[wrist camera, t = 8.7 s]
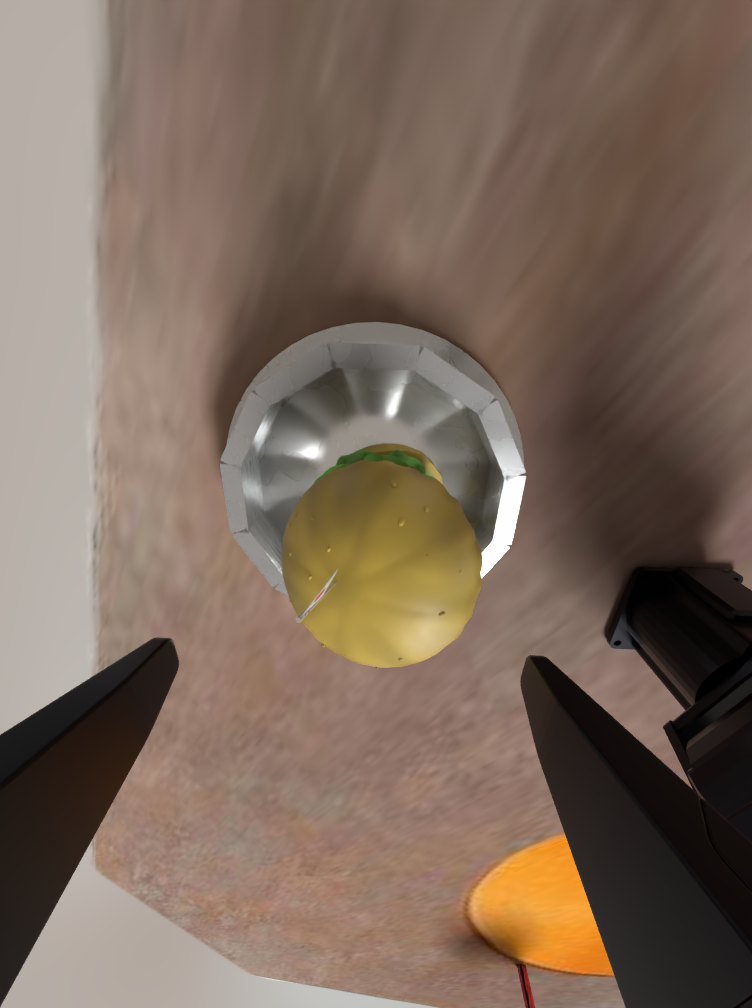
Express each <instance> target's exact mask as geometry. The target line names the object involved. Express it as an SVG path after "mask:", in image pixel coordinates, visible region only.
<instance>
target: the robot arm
mask: <svg viewBox="0 0 752 1008" xmlns="http://www.w3.org/2000/svg"><path fill="white" fill-rule="evenodd" d="M643 574H644V575H643ZM642 575H643V576H642ZM742 581H743V577H742V576H741V575H740V574H738V573H736V572H735V571H725V570H719V569H710V568H687V567H678V568H657V567H639V568H637V569H636V570H635V571H634V572H633V574H632V576H631V579H630V581H629V584H628V586H627V589H626V591H625V594H624V597H623V599H622V602H621V604H620V607H619V609H618V612H617V614H616V617H615V619H614V622H613V624H612V627H611V629H610V632H609V635H608V637H607V642H608V643H609V645H610V646H611V647H612V648H615V649H635V650H636V651H637V652H638V653H639V655H640V656H641V657H642V658H643V660H644V661H645V662H646V663H647V664H648V666H649V667H650V668H651V669H652V670H653V672H654V673H655V674H656V675H657V676H658V678H659V679H660V680H661V681H662V683H663V684H664V685H665V686H666V687H667V689H668V690H669V691H670V692H671V693H672V695H673V696H674V697H675V698H676V699H677V701H678V702H679V703H680V704H681V705H682V707H683V708H684V709H685V710H686V711H684V712H683V713H682V714H681V715H680V716H678V717H677V718H676V719H675V720H673V721H671V720H670V721H669V722H668V723H666V724H665V725H664V726H663V728H664V730H665V732H666V734H667V736H668V739H669V741H670V743H671V745H672V747H673V749H674V751H675V753H676V755H677V757H678V759H679V761H680V763H681V766H682V768H683V770H684V772H685V774H686V776H687V778H688V780H689V782H690V784H691V786H692V788H693V789H692V788H691V787H689V786H688V785H687V784H686V783H685V782H684V781H683V780H682V779H681V778H679V777H678V776H677V775H676V774H675V773H674V772H673V771H672V770H671V769H670V768H668V767H667V766H666V765H665V764H664V763H663V762H662V761H661V760H660V759H658V758H657V757H656V756H655V755H654V754H653V753H652V752H651V751H650V750H649V749H647V748H646V747H645V746H644V745H643V744H642V743H641V742H640V741H639V740H637V739H636V738H635V737H634V736H633V735H632V734H631V733H630V732H629V731H627V730H626V729H625V728H624V727H623V726H622V725H621V724H620V723H619V722H618V721H616V720H615V719H614V718H613V717H612V716H611V715H610V714H609V713H608V712H606V711H605V710H604V709H603V708H602V707H601V706H600V705H599V704H598V703H596V702H595V701H594V700H593V699H592V698H591V697H590V696H589V695H588V694H587V693H585V692H584V691H583V690H582V689H581V688H580V687H579V686H578V685H577V684H575V683H574V682H573V681H572V680H571V679H570V678H569V677H568V676H567V675H566V674H564V673H563V672H562V671H561V670H560V669H559V668H558V667H557V666H556V665H554V664H553V663H552V662H551V661H550V660H549V659H548V658H546V657H544V656H534V655H530V656H528V657H527V658H526V661H525V665H524V668H523V672H522V675H521V681H520V682H521V690H522V694H523V698H524V702H525V706H526V710H527V714H528V718H529V722H530V726H531V731H532V735H533V739H534V743H535V747H536V750H537V754H538V757H539V760H540V763H541V766H542V769H543V772H544V775H545V778H546V781H547V784H548V786H549V789H550V792H551V795H552V798H553V801H554V804H555V807H556V809H557V812H558V815H559V818H560V821H561V824H562V827H563V829H564V832H565V835H566V838H567V841H568V844H569V847H570V849H571V852H572V855H573V858H574V861H575V864H576V867H577V870H578V872H579V875H580V878H581V881H582V884H583V887H584V890H585V892H586V895H587V898H588V901H589V904H590V907H591V910H592V912H593V915H594V918H595V921H596V924H597V927H598V930H599V933H600V935H601V938H602V941H603V944H604V947H605V950H606V953H607V955H608V958H609V961H610V964H611V967H612V970H613V973H614V975H615V978H616V981H617V984H618V987H619V990H620V993H621V996H622V998H623V1001H624V1004H625V1007H626V1008H752V591H751V590H750V589H748V588H747V587H745V586H744V585H742V584H741V583H742ZM178 667H179V659H178V656H177V652H176V648H175V645H174V642H173V640H172V639H170V638H153V639H151V640H150V641H148V642H147V643H145V644H143V645H142V646H140V647H139V648H137V649H135V650H134V651H132V652H131V653H129V654H128V655H126V656H124V657H123V658H121V659H120V660H118V661H116V662H115V663H113V664H112V665H110V666H109V667H107V668H105V669H104V670H102V671H101V672H99V673H97V674H96V675H94V676H93V677H91V678H90V679H88V680H86V681H85V682H83V683H82V684H80V685H79V686H77V687H75V688H74V689H72V690H71V691H69V692H67V693H66V694H64V695H63V696H61V697H60V698H58V699H57V700H55V701H53V702H52V703H50V704H49V705H47V706H45V707H44V708H42V709H41V710H39V711H38V712H36V713H34V714H33V715H31V716H29V717H28V718H26V719H25V720H23V721H22V722H20V723H18V724H17V725H15V726H14V727H12V728H11V729H9V730H7V731H6V732H4V733H3V734H1V735H0V1006H1V1004H2V1003H3V1001H4V999H5V997H6V995H7V994H8V992H9V990H10V988H11V986H12V984H13V983H14V981H15V979H16V977H17V975H18V974H19V972H20V970H21V968H22V966H23V964H24V963H25V960H26V958H27V957H28V955H29V954H30V952H31V950H32V948H33V946H34V944H35V942H36V941H37V939H38V937H39V935H40V933H41V931H42V930H43V928H44V926H45V924H46V923H47V921H48V919H49V917H50V915H51V913H52V912H53V910H54V908H55V906H56V904H57V903H58V901H59V899H60V897H61V895H62V893H63V892H64V890H65V888H66V886H67V884H68V882H69V881H70V879H71V877H72V875H73V873H74V872H75V870H76V868H77V866H78V864H79V862H80V861H81V859H82V857H83V855H84V853H85V852H86V850H87V848H88V846H89V844H90V842H91V841H92V839H93V837H94V835H95V833H96V831H97V830H98V828H99V826H100V824H101V822H102V821H103V819H104V817H105V815H106V813H107V811H108V810H109V808H110V806H111V804H112V802H113V800H114V799H115V797H116V795H117V793H118V791H119V790H120V788H121V786H122V784H123V782H124V780H125V779H126V777H127V775H128V773H129V771H130V770H131V768H132V766H133V764H134V762H135V760H136V759H137V757H138V755H139V753H140V751H141V749H142V748H143V746H144V744H145V742H146V740H147V738H148V736H149V734H150V732H151V730H152V728H153V726H154V724H155V721H156V719H157V717H158V715H159V712H160V710H161V708H162V705H163V703H164V701H165V699H166V696H167V694H168V692H169V689H170V687H171V685H172V683H173V680H174V678H175V676H176V673H177V671H178Z"/></svg>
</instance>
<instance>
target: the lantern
mask: <svg viewBox="0 0 752 1008" xmlns="http://www.w3.org/2000/svg"><path fill="white" fill-rule="evenodd" d="M517 968H518V973H519V978H520V982H521V987H522V992H523V997H524V1002H525V1006H526V1008H535V1005H534V1001H533V996H532V992H531V987H530V983H529V978H528V974H527V969H526V966H524V965H519V966H517Z"/></svg>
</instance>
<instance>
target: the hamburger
mask: <svg viewBox="0 0 752 1008" xmlns="http://www.w3.org/2000/svg"><path fill="white" fill-rule="evenodd" d="M281 563H282V571H283V579H284V583H285V587H286V590H287V593H288V595H289V598H290V602H291V603H292V605H293V607H294V609H295V611H296V613H297V615H298V617H297V618H296V621H297V622H298V623H300V622H303V624H304V625H305V626H306V627H307V628H308V630H309V631H310V632H311V633H312V634H313V635H314V636H315V637H316V638H317V639H318V640H319V641H320V642H321V646H322V647H325V646H327V647H328V648H329V649H331V650H332V651H334V652H335V653H337V654H339V655H341V656H343V657H345V658H347V659H349V660H351V661H354V662H356V663H360V664H364V665H369V666H374V667H375V668H377V667H382V668H389V667H402V666H407V665H411V664H414V663H418V662H421V661H423V660H426V659H428V658H430V657H432V656H434V655H436V654H437V653H438V652H440V651H441V650H442V649H443V648H444V647H446V646H447V645H448V644H450V643H451V642H452V641H454V640H455V639H456V638H457V637H458V636H459V635H460V634H461V633H462V631H463V629H464V626H465V624H466V623H467V621H468V620H469V619H470V618H471V616H472V614H473V611H474V605H475V602H476V599H477V596H478V594H479V592H480V589H481V587H482V577H481V570H482V564H483V556H482V552H481V549H480V546H479V544H478V542H477V540H476V537H475V533H474V530H473V528H472V526H471V524H470V523H469V522H468V520H467V518H466V516H465V515H464V513H463V510H462V507H461V504H460V502H459V501H458V500H457V499H456V498H454V497H453V496H451V495H450V494H449V493H448V491H447V490H446V488H445V486H444V483H443V481H442V475H441V473H440V472H439V471H438V470H437V469H436V467H435V466H434V464H433V462H432V461H431V459H429V458H428V457H427V456H426V455H425V454H424V453H423V452H421V451H419V450H416V449H414V448H411V447H408V446H406V445H402V444H395V443H382V444H376V445H371V446H367V447H365V448H362V449H360V450H358V451H355V452H353V453H352V454H349V455H344V456H341V457H339V458H338V460H337V463H336V466H332V467H330V468H329V469H328V470H326V471H325V472H324V474H323V475H321V476H320V477H319V478H317V479H316V481H315V482H314V484H313V485H312V486H311V487H310V488H309V489H308V490H307V491H306V492H305V493H304V495H303V496H302V497H301V499H300V500H299V502H298V503H297V504H296V506H295V507H294V509H293V511H292V513H291V515H290V518H289V520H288V523H287V526H286V529H285V532H284V538H283V543H282V551H281Z"/></svg>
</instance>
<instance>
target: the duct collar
mask: <svg viewBox="0 0 752 1008" xmlns="http://www.w3.org/2000/svg"><path fill="white" fill-rule="evenodd" d="M382 443H395V444H402V445H406V446H408V447H411V448H414V449H416V450H419V451H421V452H423V453H424V454H425V455H426V456H427V457H428V458H429V459H431V461H432V462H433V464H434V466H435V467H436V469H437V470H438V471H439V472H440V473H441V475H442V481H443V483H444V486H445V488H446V490H447V491H448V493H449V494H450V495H451V496H453V497H454V498H456V499H457V500H458V501H459V502H460V504H461V507H462V510H463V513H464V515H465V516H466V518H467V520H468V522H469V523H470V524H471V526H472V528H473V530H474V533H475V537H476V540H477V542H478V544H479V546H480V549H481V552H482V556H483V564H482V570H481V577H483V576H484V575H485V574H486V573H487V572H488V571H489V570H490V569H491V568H492V566H493V565H494V564H495V563H496V562H497V561H498V560H499V559H500V558H501V557H502V556H503V554H504V553H505V552H506V551H507V550H508V549H509V548H510V547H509V546H508V544H512V540H513V535H514V530H515V526H516V521H517V516H518V512H519V507H520V503H521V498H522V493H523V489H524V484H525V480H526V476H525V475H524V473H525V472H526V471H525V468H524V454H523V447H522V440H521V435H520V432H519V428H518V425H517V421H516V418H515V416H514V414H513V412H512V409H511V407H510V405H509V403H508V401H507V399H506V397H505V396H504V394H503V393H502V391H501V390H500V388H499V386H498V385H497V383H496V382H495V381H494V380H493V378H492V377H491V376H490V375H489V374H488V373H487V372H486V371H485V369H484V368H483V367H482V366H481V365H480V364H479V363H478V362H476V361H475V360H474V359H473V358H472V357H470V356H469V355H468V354H467V353H465V352H464V351H463V350H461V349H460V348H458V347H456V346H455V345H453V344H451V343H450V342H448V341H447V340H445V339H443V338H440V337H438V336H436V335H433V334H431V333H429V332H426V331H424V330H421V329H417V328H413V327H409V326H405V325H401V324H392V323H383V322H364V323H351V324H346V325H341V326H336V327H331V328H328V329H325V330H322V331H320V332H317V333H314V334H311V335H309V336H307V337H305V338H303V339H301V340H300V341H298V342H296V343H294V344H292V345H290V346H289V347H288V348H286V349H285V350H284V351H282V352H281V353H279V354H278V355H277V356H275V357H274V358H273V359H272V360H271V361H270V362H269V363H268V364H267V365H266V366H265V367H264V368H263V369H262V370H261V371H260V372H259V373H258V374H257V376H256V377H255V378H254V380H253V381H252V382H251V384H250V385H249V386H248V388H247V389H246V391H245V393H244V395H243V396H242V398H241V400H240V402H239V404H238V406H237V408H236V411H235V413H234V416H233V419H232V422H231V425H230V429H229V434H228V439H227V444H226V448H225V450H224V452H223V454H222V457H221V459H220V460H221V461H223V462H222V463H220V470H221V476H222V483H223V489H224V495H225V502H226V508H227V514H228V521H229V527H230V532H234V534H233V535H232V536H233V538H234V539H235V540H236V541H237V543H238V544H239V545H240V546H241V548H242V549H243V550H244V552H245V553H246V554H247V555H248V557H249V558H250V559H251V560H252V562H253V563H254V564H255V566H256V567H257V568H258V569H259V571H260V572H261V573H262V574H263V576H264V577H265V578H266V580H267V581H268V582H269V583H270V585H271V586H272V587H273V586H276V585H277V586H276V590H278V591H280V592H282V593H284V594H286V595H288V593H287V590H286V587H285V583H284V579H283V571H282V563H281V551H282V543H283V538H284V532H285V529H286V526H287V523H288V520H289V518H290V515H291V513H292V511H293V509H294V507H295V506H296V504H297V503H298V502H299V500H300V499H301V497H302V496H303V495H304V493H305V492H306V491H307V490H308V489H309V488H310V487H311V486H312V485H313V484H314V482H315V481H316V479H317V478H319V477H320V476H321V475H323V474H324V472H325V471H326V470H328V469H329V468H330V467H332V466H336V463H337V460H338V458H339V457H341V456H344V455H349V454H352V453H353V452H355V451H358V450H360V449H362V448H365V447H367V446H371V445H376V444H382ZM288 596H289V595H288Z"/></svg>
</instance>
